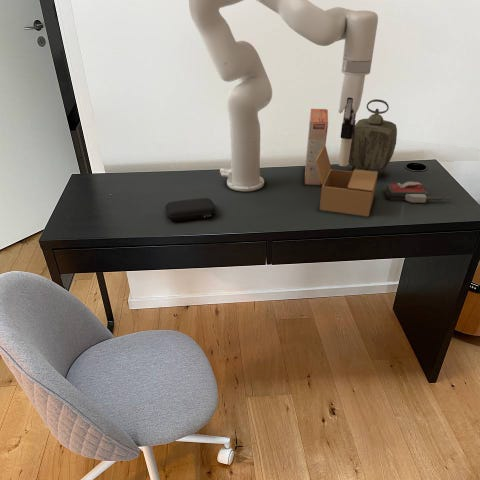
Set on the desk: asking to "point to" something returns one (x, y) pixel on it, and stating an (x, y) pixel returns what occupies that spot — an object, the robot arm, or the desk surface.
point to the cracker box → (315, 144)
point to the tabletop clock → (373, 142)
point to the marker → (345, 150)
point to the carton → (348, 191)
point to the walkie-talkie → (410, 192)
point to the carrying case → (190, 209)
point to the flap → (323, 164)
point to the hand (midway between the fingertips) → (347, 135)
